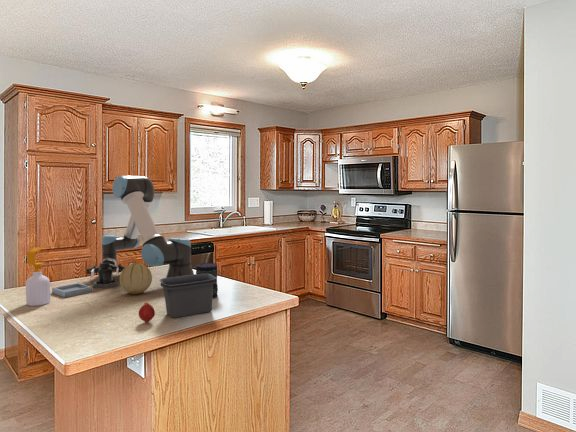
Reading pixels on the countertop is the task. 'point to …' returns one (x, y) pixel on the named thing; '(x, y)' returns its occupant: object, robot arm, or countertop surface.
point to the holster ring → (97, 285)
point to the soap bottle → (37, 283)
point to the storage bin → (188, 294)
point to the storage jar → (209, 269)
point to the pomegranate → (146, 312)
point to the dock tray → (71, 290)
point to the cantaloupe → (135, 278)
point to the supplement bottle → (105, 273)
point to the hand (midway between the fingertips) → (104, 273)
